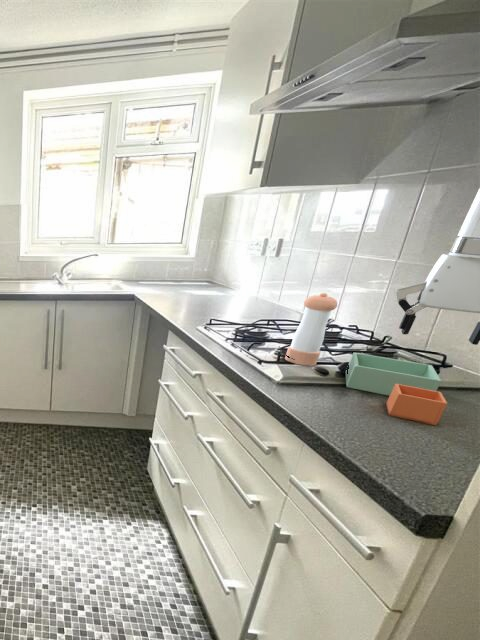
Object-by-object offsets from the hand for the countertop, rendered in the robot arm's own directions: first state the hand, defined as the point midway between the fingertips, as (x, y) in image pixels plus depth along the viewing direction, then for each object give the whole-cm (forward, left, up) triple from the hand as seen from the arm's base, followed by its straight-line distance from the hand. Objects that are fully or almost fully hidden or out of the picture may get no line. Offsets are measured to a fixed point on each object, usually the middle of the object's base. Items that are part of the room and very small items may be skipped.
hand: (437, 337), depth 83 cm
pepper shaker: (+19, -24, -17) cm, 34 cm away
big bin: (+2, -15, -16) cm, 22 cm away
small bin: (-1, +1, -16) cm, 17 cm away
